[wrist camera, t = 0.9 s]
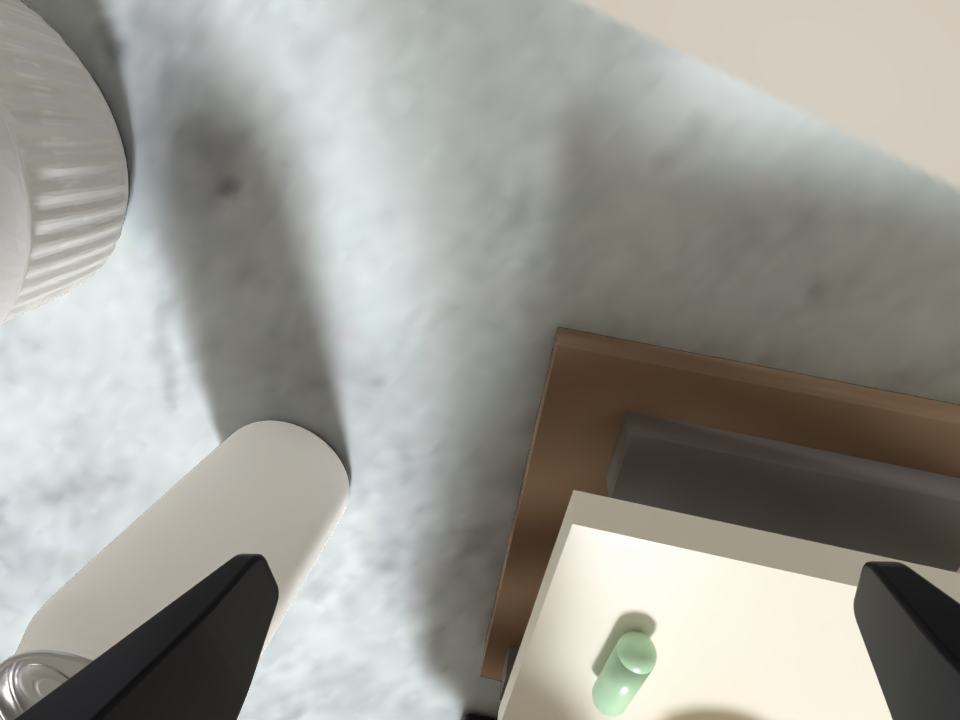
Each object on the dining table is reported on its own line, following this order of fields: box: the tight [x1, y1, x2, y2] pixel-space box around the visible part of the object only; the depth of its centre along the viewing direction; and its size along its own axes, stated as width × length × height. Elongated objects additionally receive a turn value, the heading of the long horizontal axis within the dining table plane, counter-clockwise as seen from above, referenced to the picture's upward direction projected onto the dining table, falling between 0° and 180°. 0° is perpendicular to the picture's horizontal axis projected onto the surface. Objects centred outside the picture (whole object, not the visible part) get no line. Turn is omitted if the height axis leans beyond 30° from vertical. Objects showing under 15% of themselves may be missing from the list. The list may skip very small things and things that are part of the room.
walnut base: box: [480, 327, 960, 700], centre depth 22 cm, size 18×18×4 cm
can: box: [0, 421, 350, 720], centre depth 20 cm, size 6×6×12 cm
